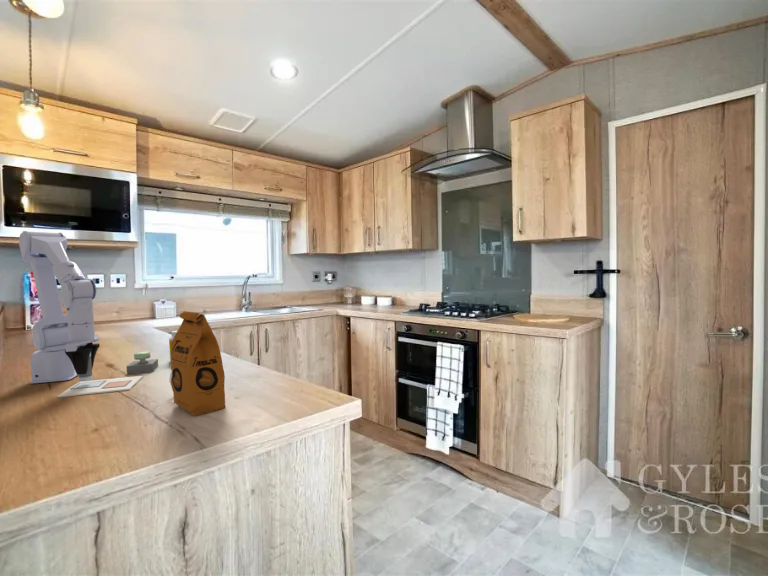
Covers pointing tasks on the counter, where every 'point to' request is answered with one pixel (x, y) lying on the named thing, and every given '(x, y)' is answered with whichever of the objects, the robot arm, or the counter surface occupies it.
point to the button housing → (142, 366)
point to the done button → (142, 356)
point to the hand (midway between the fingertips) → (84, 372)
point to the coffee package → (197, 366)
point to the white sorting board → (101, 386)
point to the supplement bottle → (171, 340)
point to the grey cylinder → (89, 372)
